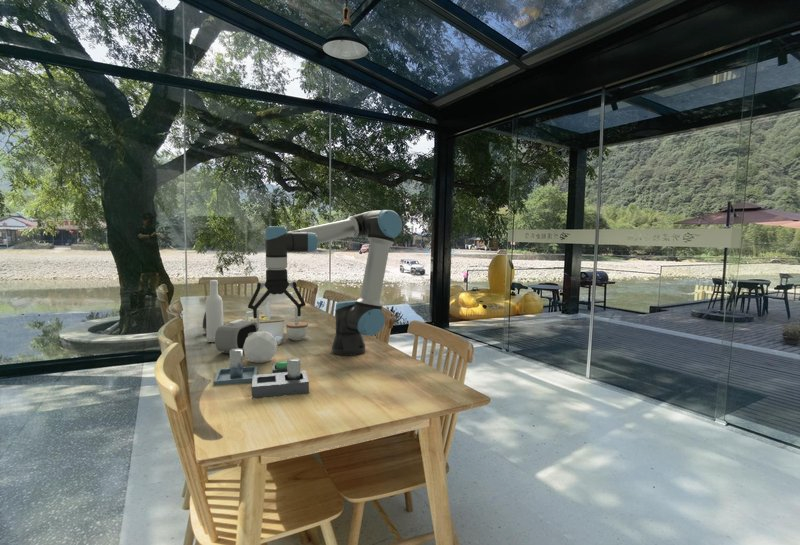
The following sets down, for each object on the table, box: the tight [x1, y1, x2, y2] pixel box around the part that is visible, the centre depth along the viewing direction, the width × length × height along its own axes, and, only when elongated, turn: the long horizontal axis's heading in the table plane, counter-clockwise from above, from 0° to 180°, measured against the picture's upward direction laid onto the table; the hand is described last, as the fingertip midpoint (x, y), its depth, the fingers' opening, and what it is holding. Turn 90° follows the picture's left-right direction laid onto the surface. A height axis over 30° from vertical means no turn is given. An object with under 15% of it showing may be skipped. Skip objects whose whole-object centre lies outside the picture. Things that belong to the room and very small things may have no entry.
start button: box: [275, 360, 287, 369], centre depth 156 cm, size 4×4×3 cm
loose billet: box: [229, 349, 244, 379], centre depth 153 cm, size 4×4×10 cm
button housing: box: [271, 363, 287, 373], centre depth 156 cm, size 7×7×4 cm
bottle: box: [205, 279, 224, 343], centre depth 206 cm, size 8×8×30 cm
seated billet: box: [286, 358, 301, 381], centre depth 144 cm, size 4×4×10 cm
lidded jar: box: [285, 321, 309, 341], centre depth 213 cm, size 11×11×9 cm
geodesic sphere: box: [243, 329, 278, 364], centre depth 173 cm, size 14×14×14 cm
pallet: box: [251, 370, 310, 400], centre depth 143 cm, size 18×12×4 cm, turn 107°
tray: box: [213, 365, 258, 387], centre depth 153 cm, size 14×14×2 cm
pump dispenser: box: [201, 310, 207, 334], centre depth 222 cm, size 10×10×15 cm
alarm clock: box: [214, 318, 260, 354], centre depth 191 cm, size 21×10×13 cm, turn 170°
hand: (277, 326), depth 155 cm, fingers open, 13 cm apart
